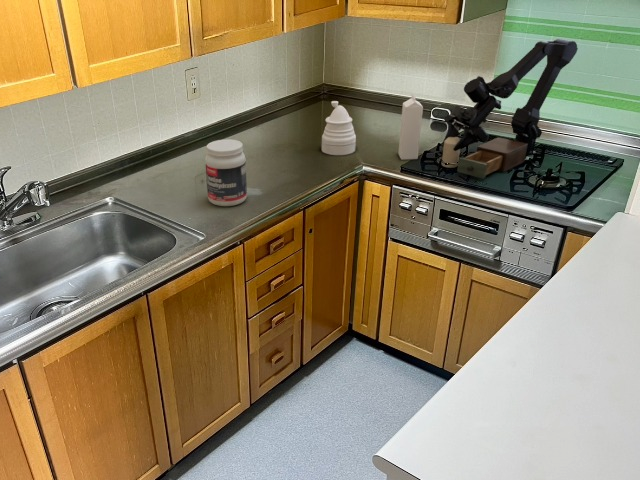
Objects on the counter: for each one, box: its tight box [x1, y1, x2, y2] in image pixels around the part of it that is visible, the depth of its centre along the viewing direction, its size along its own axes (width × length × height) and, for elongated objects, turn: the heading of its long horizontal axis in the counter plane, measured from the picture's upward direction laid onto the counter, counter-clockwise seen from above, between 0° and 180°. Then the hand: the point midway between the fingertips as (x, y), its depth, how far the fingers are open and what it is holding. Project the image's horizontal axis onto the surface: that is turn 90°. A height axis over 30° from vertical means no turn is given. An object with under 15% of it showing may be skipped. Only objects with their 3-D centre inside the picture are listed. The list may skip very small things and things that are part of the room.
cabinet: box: [476, 136, 528, 173], centre depth 218 cm, size 14×11×7 cm
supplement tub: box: [204, 138, 248, 207], centre depth 199 cm, size 13×13×18 cm
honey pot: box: [321, 100, 357, 156], centre depth 236 cm, size 13×13×18 cm
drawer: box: [456, 150, 504, 179], centre depth 211 cm, size 14×10×5 cm
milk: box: [398, 93, 424, 161], centre depth 224 cm, size 6×6×22 cm
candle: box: [441, 136, 461, 169], centre depth 218 cm, size 6×6×10 cm
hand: (448, 147), depth 217 cm, fingers open, 6 cm apart
